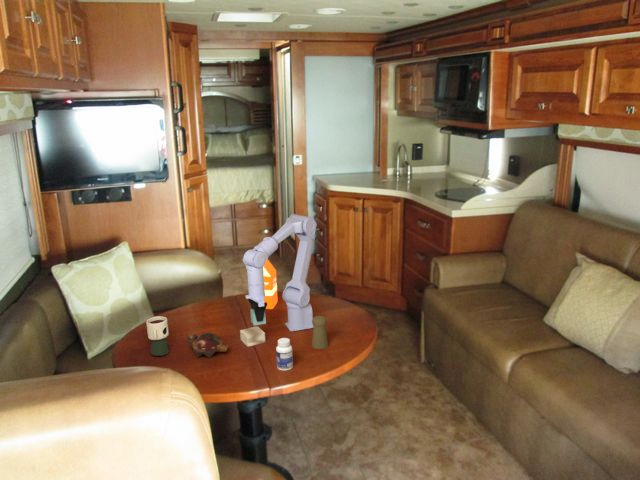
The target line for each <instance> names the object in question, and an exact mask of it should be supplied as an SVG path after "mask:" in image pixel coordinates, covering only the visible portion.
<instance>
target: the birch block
mask: <svg viewBox="0 0 640 480" xmlns="http://www.w3.org/2000/svg"><path fill="white" fill-rule="evenodd" d="M239 335H240V341H242V342H243V344H244V345H245V346H246V347H253V346H256V345H259V344H263V343H264V344H265V343H266V332H264V331H263V329H261V328H260V327H259V325H255V326H252V327H248V328H244V329H240V330H239Z"/></svg>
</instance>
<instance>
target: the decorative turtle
mask: <svg viewBox="0 0 640 480" xmlns="http://www.w3.org/2000/svg"><path fill="white" fill-rule="evenodd" d="M185 340H186V343H187V344H188V345H189V347H191V348H192V350H193V353H194V354H195V356H196V358H201V357H202V356H203V355H205V356H206V357H207V358H208V359H211V358H213V356H214V354H215V353H216V352H217V353H219V352H220V353H222V352H223V353H225V352H227V351H228V350H229V344H228V343H226V342H224V340H223V339H222V337H220V336H219V335H218V334H215V333H212V332H211V333H209V332H207V333H202V334H201V335H200V336H199V337H198V335H197V334H196V333H189V334H187V336H186V338H185Z"/></svg>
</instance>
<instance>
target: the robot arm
mask: <svg viewBox="0 0 640 480" xmlns="http://www.w3.org/2000/svg"><path fill="white" fill-rule="evenodd" d="M317 226H318V223H317V222H316V220H315V218H314V217H312V216H305V215H301V214H296V213H292V214H291V215H289V217H287V218H286V219H285V223H284V224H283V225H282V226H281V227H280V228H279V229H277V231H276V232H275V233H274V234H273V235H272V236H267V237H266V236H265V237H264V238H263V240H262V241H260V242H259V243H258V244H257V245H255V246H254V247H253V248H251V249H248V250H247V251H246V252H244V254H243V258H242V262H243V264H244V266H245V269H246V274H247V275H246V276H247V288H248V294H246V295H245V299H246V300H248V302H249V304H250V307H251V308H250V309H254V312H255V316H256V320H257V322H260V321H263V318H264V312H265V313H266V310H267V309H266V307H267V302H264V299H265V290H264V273H263V266H264V265H265V263H266V260H267V259H268V260H269V257H270V256H271V255H273V253H274V252H276V251H277V250H278V248H279V244H280V243H281V242H283V241H284V240H285V239H287V238H288V237H289V236H290V235H292V234H295V235H296V236H297V238H298V240H299V244H298V249H297V253H296V259H295V262H294V267H293V273H292V278H291V280H290V281H288V282H286V285H285V288H284V289H283V292H282V300H283V301H284V302H285V305H286V306H287V321H286V322H285V323H284V325H285V327H287V329H288V330H289V332H295V331H301V330H306V329H307V330H308V329H314V326H313V324H312V319H313V318H314V315H313V313H314V312H313V308H312V304H311V303H310V299H311V296H310V291H311V288H310V287H309V285H308V283H307V278H308V273H309V269H310V263H311V260H312V259H311V258H312V254H313V249H314V243H315V239H316V230H317Z"/></svg>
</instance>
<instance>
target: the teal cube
mask: <svg viewBox="0 0 640 480" xmlns="http://www.w3.org/2000/svg"><path fill="white" fill-rule="evenodd" d="M249 310H250V322H251V323H252V325H253V326H259V325H266V324H267V321H266V319H267V318H266V311H265V312H264V318H263V321H260V322H257V320H256V316H255V312H254V309H252V308H250V309H249Z"/></svg>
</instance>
